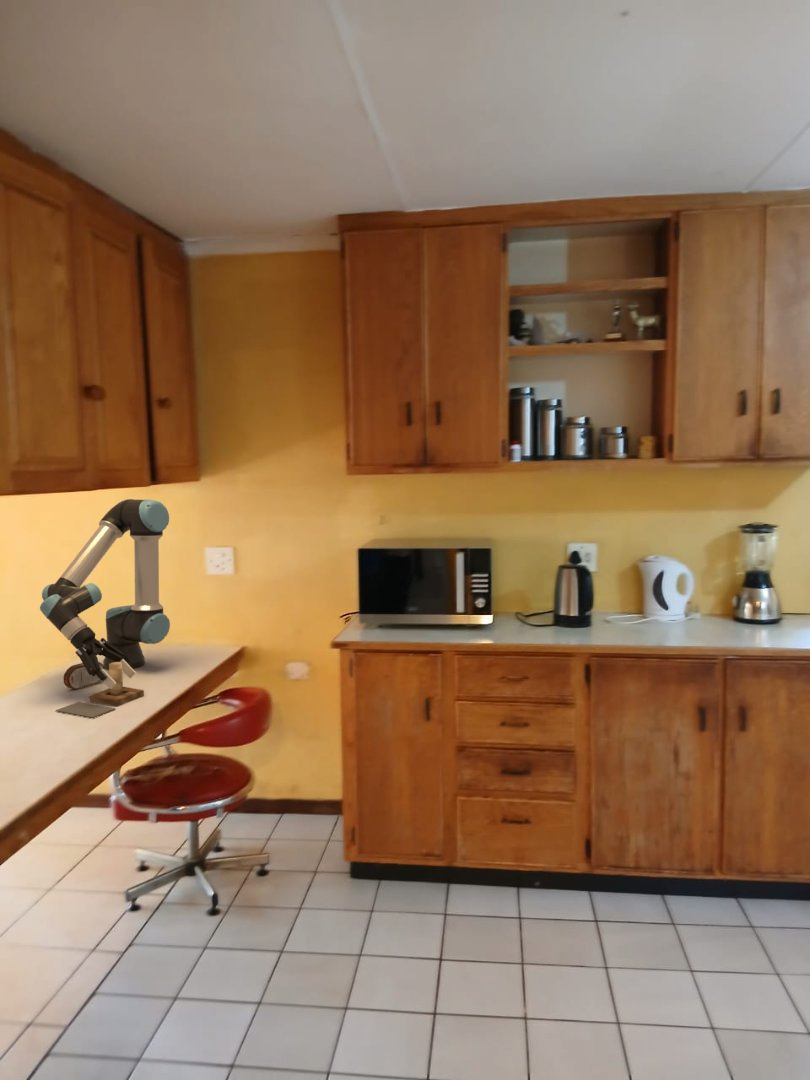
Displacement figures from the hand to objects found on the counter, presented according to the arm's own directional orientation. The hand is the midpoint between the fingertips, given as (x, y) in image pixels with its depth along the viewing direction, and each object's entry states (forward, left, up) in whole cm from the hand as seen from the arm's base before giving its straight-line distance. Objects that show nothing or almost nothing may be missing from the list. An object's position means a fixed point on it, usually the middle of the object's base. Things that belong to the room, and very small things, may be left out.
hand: (123, 680), depth 243 cm
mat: (+14, -3, -6) cm, 15 cm away
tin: (-5, -24, -7) cm, 25 cm away
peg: (+1, -3, -6) cm, 7 cm away
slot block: (+1, -3, -6) cm, 7 cm away
